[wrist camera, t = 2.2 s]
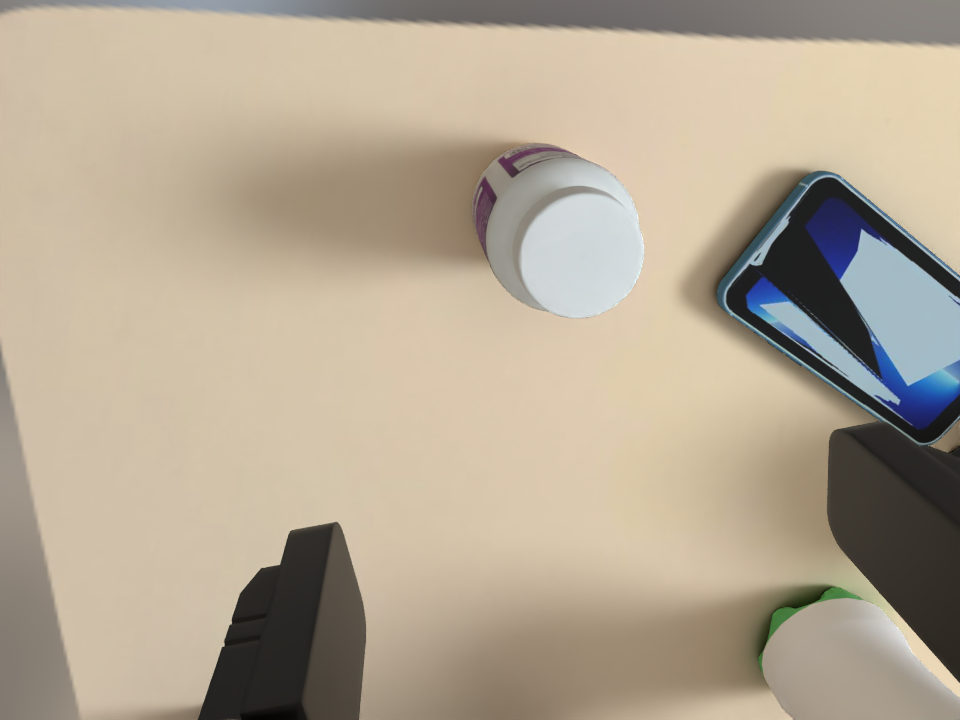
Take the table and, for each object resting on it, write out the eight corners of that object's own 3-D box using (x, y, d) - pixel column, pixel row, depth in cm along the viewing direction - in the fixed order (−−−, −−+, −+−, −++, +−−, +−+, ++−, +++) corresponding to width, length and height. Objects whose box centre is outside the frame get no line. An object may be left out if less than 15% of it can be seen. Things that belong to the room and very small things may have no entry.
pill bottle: (546, 288, 32) (596, 371, 24) (447, 223, 31) (460, 286, 22) (619, 186, 31) (702, 234, 22) (519, 114, 30) (565, 133, 21)
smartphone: (926, 454, 37) (711, 303, 32) (913, 444, 37) (703, 297, 33) (1037, 338, 35) (825, 161, 30) (1021, 332, 35) (813, 158, 31)
